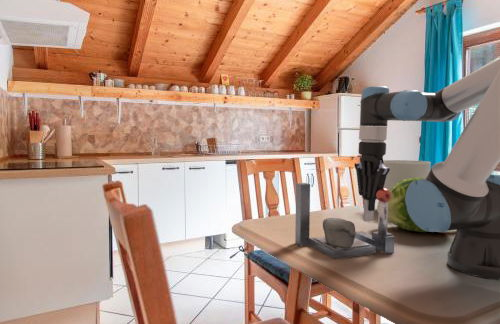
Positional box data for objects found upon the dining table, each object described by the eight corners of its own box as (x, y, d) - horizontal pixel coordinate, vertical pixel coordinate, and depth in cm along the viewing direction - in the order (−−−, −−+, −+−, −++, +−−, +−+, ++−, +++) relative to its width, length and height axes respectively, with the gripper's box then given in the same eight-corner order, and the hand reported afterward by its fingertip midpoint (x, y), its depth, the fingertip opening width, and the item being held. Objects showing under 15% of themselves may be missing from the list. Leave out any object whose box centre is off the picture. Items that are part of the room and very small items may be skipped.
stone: (320, 246, 95) (322, 210, 99) (321, 252, 103) (323, 218, 107) (355, 249, 93) (356, 212, 97) (354, 255, 101) (354, 220, 105)
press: (394, 252, 98) (396, 187, 97) (326, 261, 91) (327, 191, 89) (355, 236, 114) (356, 180, 113) (295, 243, 107) (296, 183, 105)
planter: (416, 218, 141) (418, 163, 139) (369, 210, 156) (370, 161, 154) (436, 211, 155) (438, 161, 153) (391, 204, 170) (392, 159, 168)
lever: (393, 241, 99) (394, 188, 98) (381, 242, 98) (383, 189, 97) (383, 237, 103) (384, 186, 102) (371, 238, 101) (373, 187, 100)
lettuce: (374, 223, 134) (370, 177, 131) (441, 217, 130) (438, 169, 126) (386, 246, 115) (381, 192, 112) (464, 240, 111) (462, 184, 108)
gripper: (398, 142, 99) (393, 225, 101) (369, 140, 111) (365, 214, 113) (376, 142, 96) (371, 227, 99) (348, 140, 108) (344, 216, 110)
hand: (368, 220), depth 106 cm, fingers closed
